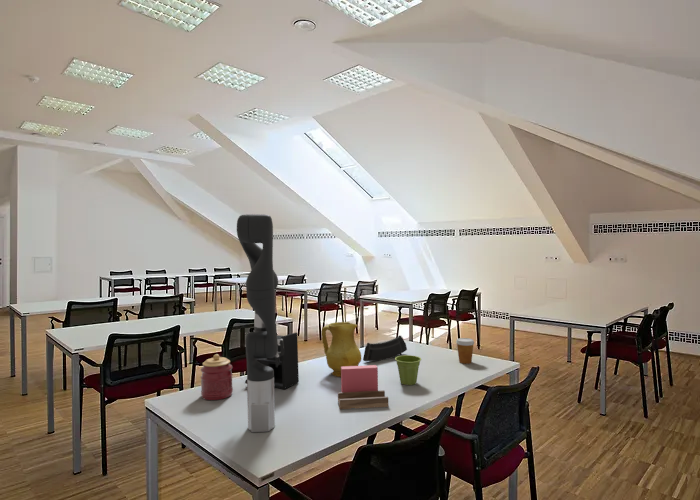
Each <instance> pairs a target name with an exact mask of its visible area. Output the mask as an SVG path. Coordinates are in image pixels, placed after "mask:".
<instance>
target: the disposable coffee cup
mask: <svg viewBox="0 0 700 500" xmlns="http://www.w3.org/2000/svg"><path fill="white" fill-rule="evenodd" d="M455 343H456V347H457V355H458V361H459V363H460V364H463V365H464V364H465V365H469V364H472V360H473V354H474V353H473V352H474V345H475V341H474V339H473V338H468V337H460V338H456V341H455Z"/></svg>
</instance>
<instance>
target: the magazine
mask: <svg viewBox="0 0 700 500" xmlns="http://www.w3.org/2000/svg"><path fill="white" fill-rule="evenodd" d="M407 350H408V348H407V343H406V342H405V339H404V338H403V336H402V335H401V334H400V335H398V336H396V337H395V338H393V339H391V340H387V341H384V342H378V343H371V342H367V343H366V345H365V348H364V353H363V357H362V360H363V362H376V361H377V362H378V361H384V360H389V359H392V358H394V357H395V358H396V357H398V356H403V353H405V352H406V351H407Z"/></svg>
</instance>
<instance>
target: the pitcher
mask: <svg viewBox="0 0 700 500" xmlns="http://www.w3.org/2000/svg"><path fill="white" fill-rule="evenodd" d="M357 327H358V325H357V324H356V323H352V322H350V321H338V322H330V323H329V324H327V325H325V326H323V327H322V329H321V340H322V344H323V345H322V346H323V350H324V351H323V352H324V354H325V358H326V359H325V361H326V363H327V366H328V368H329V369H331V370H332V372H331V375H332V376H333V377H340V378H341V367H343V366H360V365H359V364H360V363H361V361H362V352H361V350H360V349H359V347H358V345H357V343H356V341H355V330H356V328H357ZM327 331H329V332H330V334H331V336H332V337H331V342H330V345H329V344H328V340H327Z"/></svg>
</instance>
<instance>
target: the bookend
mask: <svg viewBox="0 0 700 500" xmlns="http://www.w3.org/2000/svg"><path fill="white" fill-rule="evenodd" d="M280 339H283V344H284V355H283V356H280V357H279V365H278V367H276V359H275V358H276V356H275V357H273V358H262V359H257V361H258V362H260V363H261V364H263V365H266V366H269V367H271V368H273V370H274V389H275V388H276V389H280V390H287V389H288V388H290V387H292V386H294V385H296V384H298V383H300V382H299V380H300V379H299V347H298V345H299V344H298V343H299V342H298V332H297V331H296V332H293V333H289V334H286V335H281V334H277V340H280ZM278 352H281V350H280V345H278ZM244 382H245V383H246V384H247V378H246V379H245V381H244Z"/></svg>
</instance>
